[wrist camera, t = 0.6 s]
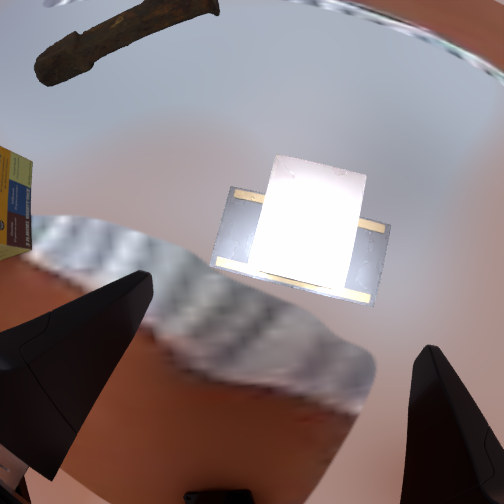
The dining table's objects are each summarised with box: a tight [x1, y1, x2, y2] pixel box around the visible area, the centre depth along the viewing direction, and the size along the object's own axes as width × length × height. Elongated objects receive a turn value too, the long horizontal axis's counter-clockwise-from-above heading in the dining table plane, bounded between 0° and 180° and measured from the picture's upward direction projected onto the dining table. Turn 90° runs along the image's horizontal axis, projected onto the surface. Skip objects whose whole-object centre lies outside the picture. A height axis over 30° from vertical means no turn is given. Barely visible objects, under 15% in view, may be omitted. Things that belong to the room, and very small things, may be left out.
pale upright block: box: [247, 154, 366, 291], centre depth 17 cm, size 4×5×9 cm
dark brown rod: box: [34, 0, 220, 87], centre depth 26 cm, size 23×5×6 cm, turn 105°
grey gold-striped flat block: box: [209, 186, 391, 307], centre depth 23 cm, size 12×6×2 cm, turn 76°
